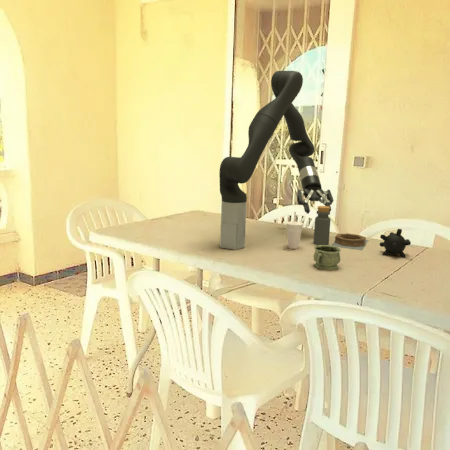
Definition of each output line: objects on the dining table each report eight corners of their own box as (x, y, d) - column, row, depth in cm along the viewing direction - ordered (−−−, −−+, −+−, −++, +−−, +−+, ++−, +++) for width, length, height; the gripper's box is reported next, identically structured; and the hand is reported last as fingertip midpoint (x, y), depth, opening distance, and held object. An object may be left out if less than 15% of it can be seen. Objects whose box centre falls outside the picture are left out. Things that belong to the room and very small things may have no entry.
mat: (362, 251, 176) (362, 250, 176) (330, 247, 181) (330, 246, 181) (368, 241, 192) (368, 240, 192) (338, 237, 197) (338, 236, 197)
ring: (362, 248, 180) (362, 241, 179) (333, 244, 184) (333, 238, 183) (366, 241, 189) (366, 235, 189) (338, 238, 194) (339, 232, 193)
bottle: (327, 243, 187) (330, 205, 184) (329, 247, 181) (332, 208, 178) (312, 242, 187) (315, 205, 184) (313, 246, 182) (316, 207, 179)
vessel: (324, 260, 163) (325, 242, 162) (347, 265, 158) (348, 247, 156) (304, 267, 155) (306, 248, 153) (328, 273, 149) (330, 254, 148)
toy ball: (390, 241, 180) (420, 239, 171) (382, 264, 175) (413, 264, 166) (377, 224, 175) (407, 221, 166) (368, 247, 170) (399, 246, 161)
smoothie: (282, 248, 176) (284, 212, 173) (288, 245, 182) (290, 209, 179) (298, 251, 173) (301, 214, 170) (304, 247, 179) (306, 211, 176)
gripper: (296, 174, 190) (304, 207, 181) (329, 174, 193) (339, 206, 184) (290, 185, 196) (298, 217, 188) (323, 185, 199) (332, 217, 190)
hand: (318, 212), depth 186 cm, fingers open, 8 cm apart
